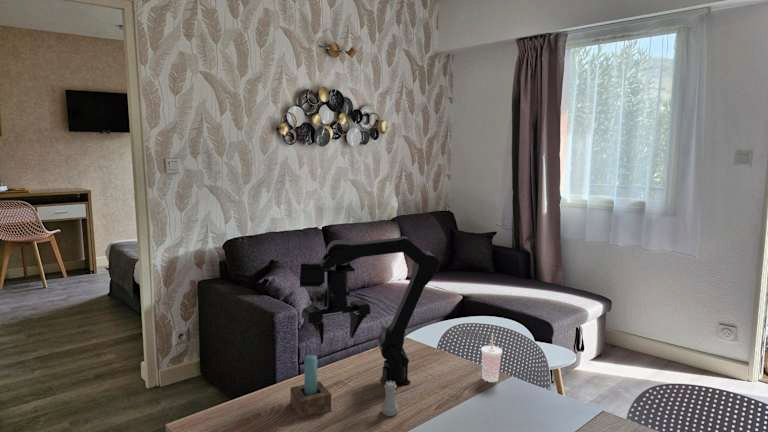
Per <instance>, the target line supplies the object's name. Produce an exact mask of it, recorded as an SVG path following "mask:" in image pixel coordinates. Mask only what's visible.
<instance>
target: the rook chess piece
mask: <svg viewBox="0 0 768 432" xmlns="http://www.w3.org/2000/svg"><path fill="white" fill-rule="evenodd" d="M383 388H384V389H385V391H384V393H385V395H384V397H385V398H384V401H383V402H382V405H381V409H380V412H381V413H382V414H383V416H386V417H395V416H396V415H397V414H398V413H399V405H398V403H397V402H396V393H397V391H396V389H397V388H398V386H396V384H395V382H394V381H393V382H391V381H390V382H388V381H386V383H385V384H384V385H383Z"/></svg>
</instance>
